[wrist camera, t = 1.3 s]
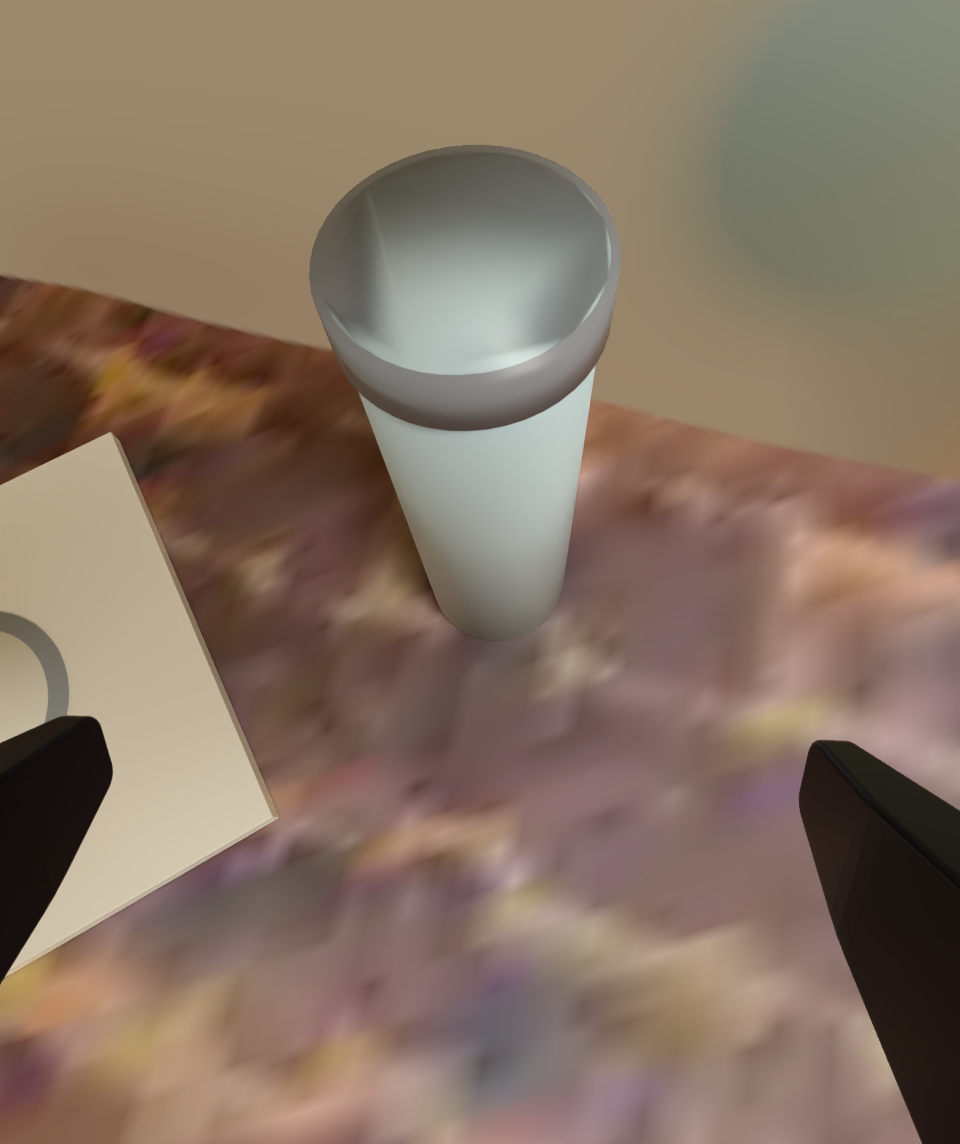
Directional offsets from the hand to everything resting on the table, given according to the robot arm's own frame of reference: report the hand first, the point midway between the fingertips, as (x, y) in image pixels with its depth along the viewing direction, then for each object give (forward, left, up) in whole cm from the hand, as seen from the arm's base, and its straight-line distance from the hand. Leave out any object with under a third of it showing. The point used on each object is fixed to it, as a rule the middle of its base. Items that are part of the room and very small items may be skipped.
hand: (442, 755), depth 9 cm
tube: (+7, +4, -13) cm, 15 cm away
